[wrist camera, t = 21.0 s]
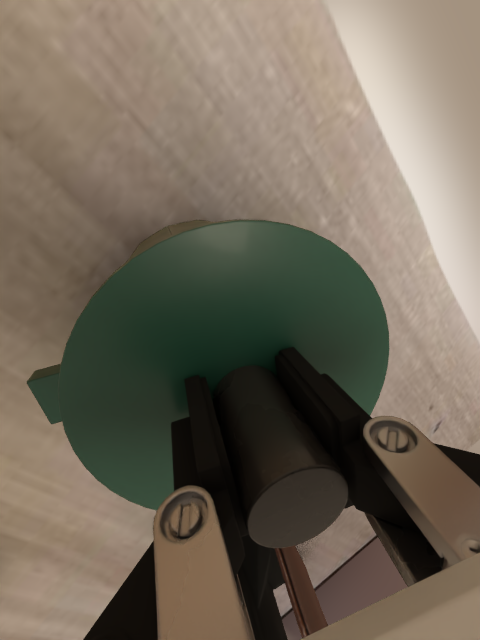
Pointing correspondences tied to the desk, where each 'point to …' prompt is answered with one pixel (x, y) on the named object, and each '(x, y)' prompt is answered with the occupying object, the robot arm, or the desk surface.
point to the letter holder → (267, 574)
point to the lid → (224, 366)
